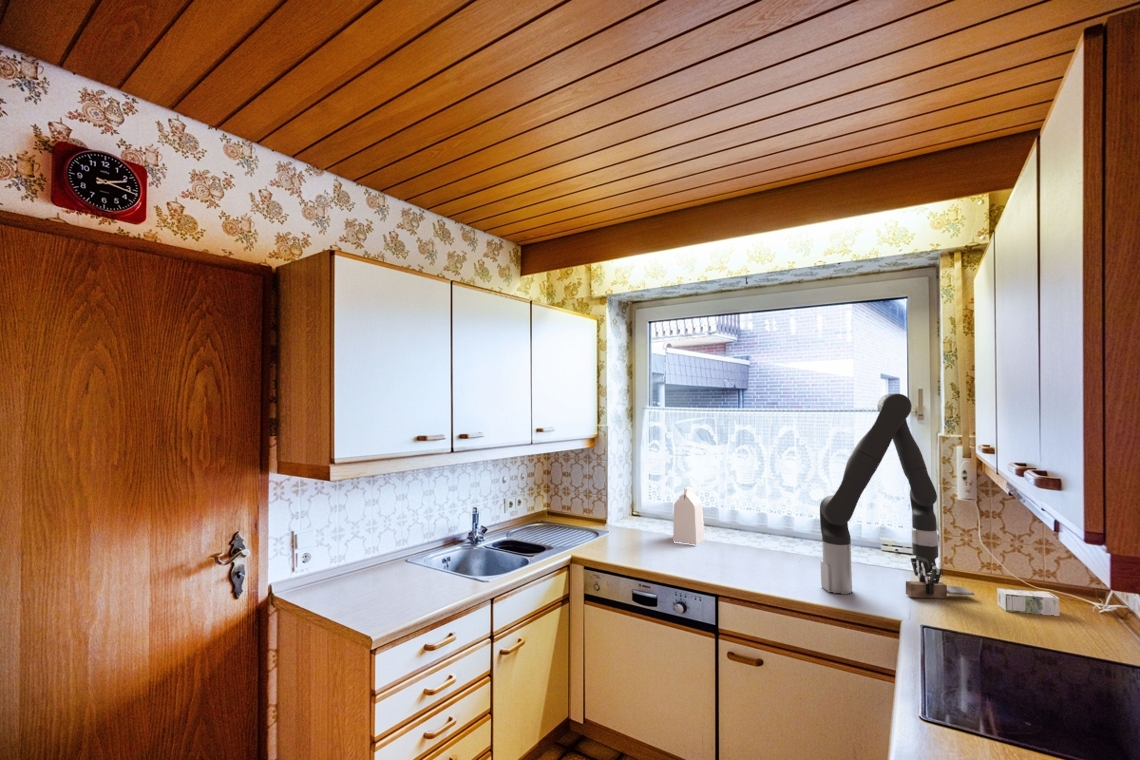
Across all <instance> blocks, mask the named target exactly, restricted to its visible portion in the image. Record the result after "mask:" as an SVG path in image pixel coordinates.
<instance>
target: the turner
mask: <svg viewBox="0 0 1140 760" xmlns="http://www.w3.org/2000/svg"><path fill="white" fill-rule="evenodd" d="M905 595H907V596H908V597H910V598H921V599H922V598H924V599H925V598H927V599H928V598H929V599H947V598H948V595H951V596H953V595H954V596H955V595H956V596H975V592H973V591H971V590H969V589H967V588H965V587H963V586H957V585H956V586H953V585H951V586H950V585H947V584H945V583H944V582H942V581H939V583H938V584H934V594H933V595H928V594H926V582H919V581H918V580H917V581H916V580H915V581H913V580H911V581H908V580H906V581H905Z"/></svg>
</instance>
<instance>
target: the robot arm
mask: <svg viewBox="0 0 1140 760" xmlns="http://www.w3.org/2000/svg"><path fill="white" fill-rule="evenodd" d="M912 407H913V406H912V401H911V400H910V398H909V397H908V396H906V395H904V394H902V393H889V394H884V395H882V397H880V398H879V399H878V401H877V411H878V412H879V413H878V415H877V417H876V419H875V421H874V423H873V424H872V426H871V427H870V428H869V430H868V431H867V432H866V433H865V434H864V435H863V437H862V438H861V439H860V440H859V441H858V442H857V444H856V445H855V447H854V449H853V450H852V451H851V454H850V456H849V458H847V459H848V460H847V462H846V464H845V468H844V471H843V472H844V473H843V477H842V479H841V480H842V481H841V482H840V484H839V486H838V489H837V490H836V491H835V493H834V494H833V495H827V496H825V497H824V498H823V499H822V500H821V502H820V505H819V523H820V525H819V526H820V532H821V538H822V539H821V540H822V541H821V542H822V543H821V544H822V545H821V546H822V560H820V585H821V586H822V587H823V588H822V587H821V588H822V589H824V590H825V591H826V590H827V591H828V592H827V591H826V592H827V593H829V592H833V593H832V594H836V593H841V594H840V595H850V594H852V593H853V576H852V575H853V572H852V545H851V544H852V541H851V539H852V537H851V533H850V530H849V523H848V522H849V521H850V520H851V518H852V516H853V514H854V512H855V510H856V508H857V505H858V502H859V500H860V498H861V496H862V494H863V492H864V491H865V489H866V487H867V486H868V485H869V482H870V481H871V479H872V478H873V476H874V474H875V472H876V471H877V469H878V467H879V466H880V464H881V462H882V460H883V459H884V456H885V454H886V453H887V451H888V449H889V447H890V445H891V443H892V442H893V444H894V447H895V450H896V454H897V456H898V459H899V462H900V465H901V468H902V472H903V474H904V475H905V477H906V479H907V481H908V484H909V487H910V489H909V500H910V507H911V514H912V517H911V518H912V519H911V521H912V523H911V524H912V531H911V547H912V549H911V550H912V551H911V552H912V555H914V556H915V557H911V558H910V562H911V566H912V570H913V574H914V576H916V577H917V579H918V580H919V581H918V582H926V594H928V595H933V594H934V584H938V583H939V582H940V580H941V577H942V573H943V570H942V568H938V567H937V562H936V559H939V555H940V554H939V537H938V531H937V530H938V529H937V527H938V525H937V516H936V513H935V511H934V504H935V503H936V502H937V500H938V494H937V491H936V488H935V486H934V483H933V481H932V479H931V477H930V475H929V473H928V469H927V465H926V462H925V459H924V456H923V454H922V450H920V448H919V446H918V443H917V441H916V440H915V438H914V437H913V434H912V432H911V430H910V427H909V425H908V421H907V418H908V417H909V416H910V414H911V412H912ZM851 592H852V593H851ZM849 593H850V594H849Z"/></svg>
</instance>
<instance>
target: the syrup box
mask: <svg viewBox="0 0 1140 760" xmlns="http://www.w3.org/2000/svg"><path fill="white" fill-rule="evenodd" d="M996 593H997V594H996V595H997V606H999V608H1000V609H1002V610H1003V611H1005V612H1010V613H1018V614H1029V613H1031V614H1030V615H1040V614H1042V615H1043V616H1051V615H1054V616H1055V617H1060V615H1061V613H1060V597H1058V596H1057V595H1055V594H1054V593H1052V592H1049V591H1043V590H1041V591H1040V590H1029V589H1027V590H1026V589H1014V588H1002V587H1000V588H999V587H997V588H996ZM1042 615H1041V616H1042ZM1054 616H1053V617H1054Z"/></svg>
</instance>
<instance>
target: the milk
mask: <svg viewBox="0 0 1140 760" xmlns="http://www.w3.org/2000/svg"><path fill="white" fill-rule="evenodd" d="M704 522H705V521H704V508H703V503H702V501H701V499H700V498H699V497H698V496H697V495H696V494H695V493H694V492H693V488H692V486H687V487H685V488H684V490H683V493H682V494H680V496H679V497H678V499H677V500H676V501H675V502H674V504H673V527H672V528H673V529H672V530H673V532H672V533H673V535H672V539H673V541H675V542H682V543H689V544H695V545H697V544H698V543H700V542H701V541H703V540H704V539H705V540H706V538H705V537H706V536H705V523H704ZM673 541H672V542H673ZM703 542H704V541H703Z"/></svg>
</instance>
